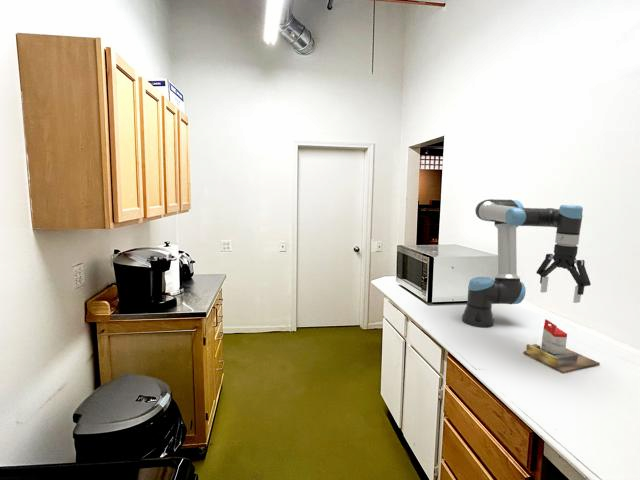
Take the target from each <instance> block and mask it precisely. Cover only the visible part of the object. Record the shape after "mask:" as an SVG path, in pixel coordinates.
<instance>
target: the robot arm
mask: <svg viewBox="0 0 640 480" xmlns="http://www.w3.org/2000/svg"><path fill="white" fill-rule="evenodd" d="M583 208H584V207H583V206H581V205H575V204H572V205H571V204H562V205H560V206H559V208H552V207H550V208H549V207H547V208H541V207H539V208H537V207H534V208H532V207H524V205H523V203H522V202H521V201H520V200H515V199H492V198H491V199H490V198H489V199H484V200H482V201H480V202H479V203H478V204H477V205H476V207H475V215H476V217H477V218H478V219H480V220H482V221H484V222H492V223H493V222H494V227H495V228H496V229H497V274H496V275H495V277H494V278H492V277H489V276H478V277H477V276H475V277H473V278H471V279H470V280H469V283H468V286H467V287H468V289H467V290H468V291H467V299H466V300H467V302H466V307H465V309H464V312H463V313H462V317H461V320H462V322H464V323H465V324H466V325H469V326H474V327H477V328H479V327H480V328H490V327H493V326H494V323H495V319H494V317H493V312H492V306H493V305H492V304H495V305H496V304H498V305H500V304H502V305H518V304H520V303H522V301H523V300H524V299H525V297H526V291H527V290H526V286H525V283H524V282H522V281H521V277H519V275H517V274H518V273H517V228H519V227H542V228H544V227H547V228H548V227H549V228H556V231H555V241H554V242H555V244H554V247H553V253H554V254H553V253H547V254H546V255H545V257H544V260H543V261H542V263H541V264H540V266H539V267H538V268H537V270H536V274H537V275H539V279H540V281H539V284H541V285H540V293H547V292H548V284H549V276H548V275H550V274H551V273H552V272H553V271H554V270H555V269H557V268H559V269H560V268H562V269H566V270H567V271H569V272H570V275H571V276H572V278H573V280H574V282H575V283H576V285H575V286H574V294H573V300H572V302H573V304H577V303H581V299H582V298H581V297H582V296H583V295H584V292H585V287H590V286H591V285H592V284H591V281H590V278H589V274H588V272H587V269H586V267H585V263H586V262H585V260H584V259H576V258H577V254H578V249H579V247H578V245H579V242H580V233H581V228H582V222H583ZM552 260H553V262H552Z"/></svg>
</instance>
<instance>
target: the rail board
mask: <svg viewBox="0 0 640 480" xmlns="http://www.w3.org/2000/svg"><path fill="white" fill-rule="evenodd" d="M523 355H525V356H528V357H530V358H532V359H533V360H535V361H537V362H539V363H542V364H543V365H545V366H547V367H549V368H551V369H553V370H555V371H557V372H559V373H561V374H567V373H571V372H575V371H581V370H584V369H588V368H589V369H590V368H593V367H598V366H600V365H601V362H598V361H596V360H594V359H592V358H589V357H587V356H585V355H583V354H580V353H578V352H576V351H573V350H571V349H569V348H565V354H561V355H556V356H553V355H551V354H549V353H546V352H544V351H542V350H541V345H540V344H537V343H533V344H527V343H526V347H525V350H523Z"/></svg>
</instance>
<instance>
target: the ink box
mask: <svg viewBox="0 0 640 480" xmlns="http://www.w3.org/2000/svg"><path fill="white" fill-rule="evenodd" d="M543 325H544V326H543V331H542V339H541V340H542V341H541V345H540V348H541V350H542V351H544V352H546V353H549V354H551V355H553V356H556V355H561V354H565V348H566V346H567V341H568V340H567V338H568V333H566V332H565V331H564V330H562V329H560V328H559V327H557V325H556V324H554V323H553V322H552V321H550V320H548V319H547V318H546V319H545V320H544V323H543Z"/></svg>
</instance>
